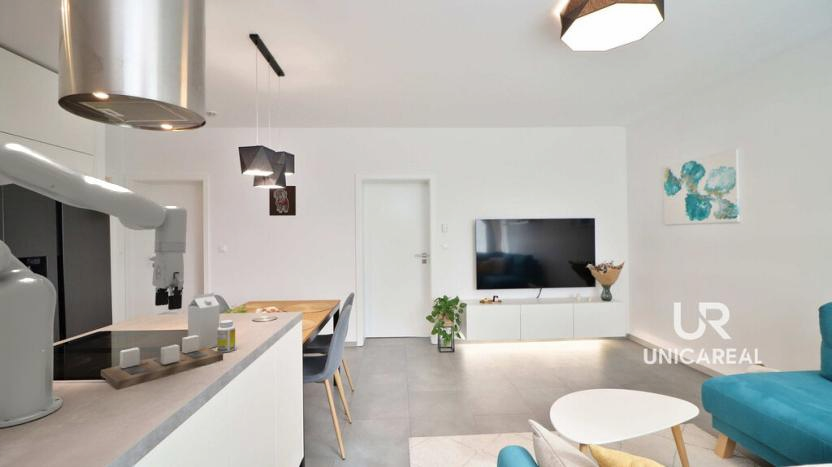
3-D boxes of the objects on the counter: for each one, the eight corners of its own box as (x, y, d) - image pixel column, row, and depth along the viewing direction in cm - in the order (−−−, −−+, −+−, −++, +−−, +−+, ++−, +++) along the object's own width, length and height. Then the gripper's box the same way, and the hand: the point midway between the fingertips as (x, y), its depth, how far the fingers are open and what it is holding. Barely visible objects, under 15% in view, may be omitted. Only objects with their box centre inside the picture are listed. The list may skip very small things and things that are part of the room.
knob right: (185, 353, 113) (185, 339, 113) (182, 351, 115) (182, 337, 115) (198, 350, 117) (198, 336, 117) (195, 348, 118) (195, 335, 118)
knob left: (122, 368, 100) (122, 352, 100) (119, 366, 102) (119, 350, 102) (139, 364, 104) (139, 348, 104) (136, 362, 105) (136, 347, 105)
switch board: (117, 389, 92) (117, 381, 92) (100, 376, 100) (101, 369, 101) (223, 360, 114) (223, 353, 114) (202, 351, 123) (202, 345, 123)
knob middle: (164, 364, 103) (164, 349, 103) (160, 362, 105) (160, 347, 105) (179, 360, 107) (179, 345, 107) (176, 359, 108) (176, 344, 108)
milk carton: (187, 348, 126) (188, 295, 126) (207, 343, 132) (207, 292, 132) (199, 351, 123) (200, 296, 123) (219, 346, 129) (219, 293, 129)
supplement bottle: (233, 346, 128) (233, 318, 128) (236, 350, 124) (236, 321, 124) (216, 349, 125) (216, 320, 125) (218, 354, 120) (218, 323, 120)
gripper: (144, 247, 106) (142, 305, 105) (167, 249, 96) (164, 312, 95) (173, 247, 112) (171, 302, 111) (197, 249, 102) (195, 309, 101)
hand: (168, 307), depth 103 cm, fingers open, 9 cm apart
